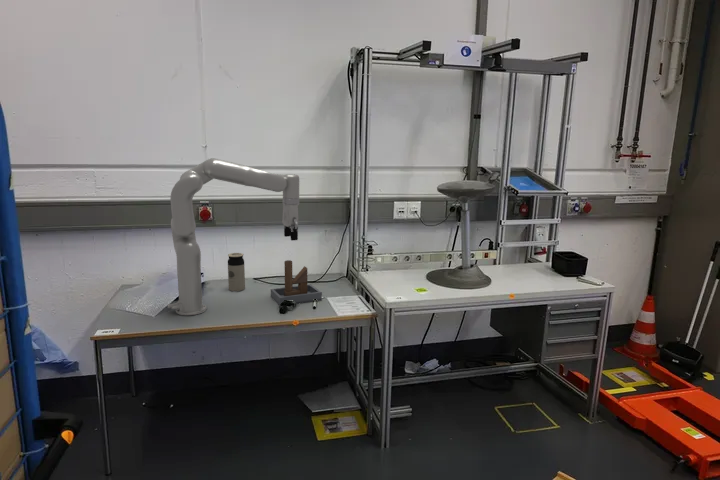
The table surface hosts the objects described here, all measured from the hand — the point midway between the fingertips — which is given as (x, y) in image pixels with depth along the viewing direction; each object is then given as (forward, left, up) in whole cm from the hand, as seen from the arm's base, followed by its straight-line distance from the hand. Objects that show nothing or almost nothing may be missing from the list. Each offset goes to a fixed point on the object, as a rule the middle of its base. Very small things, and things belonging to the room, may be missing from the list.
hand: (290, 238), depth 223 cm
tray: (+2, -2, -29) cm, 29 cm away
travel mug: (-20, +24, -29) cm, 43 cm away
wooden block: (+1, -2, -29) cm, 29 cm away
